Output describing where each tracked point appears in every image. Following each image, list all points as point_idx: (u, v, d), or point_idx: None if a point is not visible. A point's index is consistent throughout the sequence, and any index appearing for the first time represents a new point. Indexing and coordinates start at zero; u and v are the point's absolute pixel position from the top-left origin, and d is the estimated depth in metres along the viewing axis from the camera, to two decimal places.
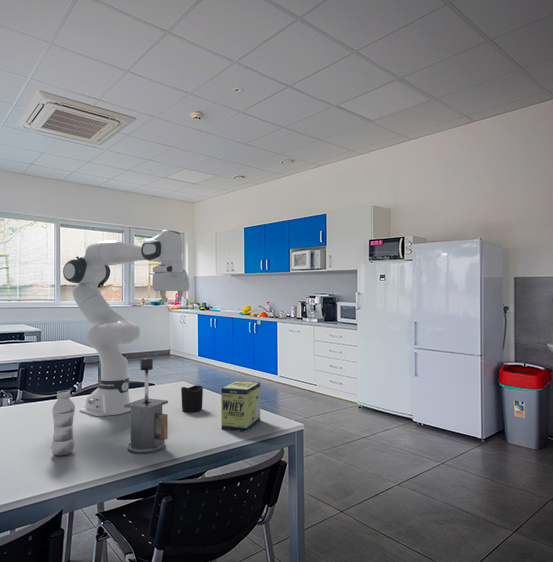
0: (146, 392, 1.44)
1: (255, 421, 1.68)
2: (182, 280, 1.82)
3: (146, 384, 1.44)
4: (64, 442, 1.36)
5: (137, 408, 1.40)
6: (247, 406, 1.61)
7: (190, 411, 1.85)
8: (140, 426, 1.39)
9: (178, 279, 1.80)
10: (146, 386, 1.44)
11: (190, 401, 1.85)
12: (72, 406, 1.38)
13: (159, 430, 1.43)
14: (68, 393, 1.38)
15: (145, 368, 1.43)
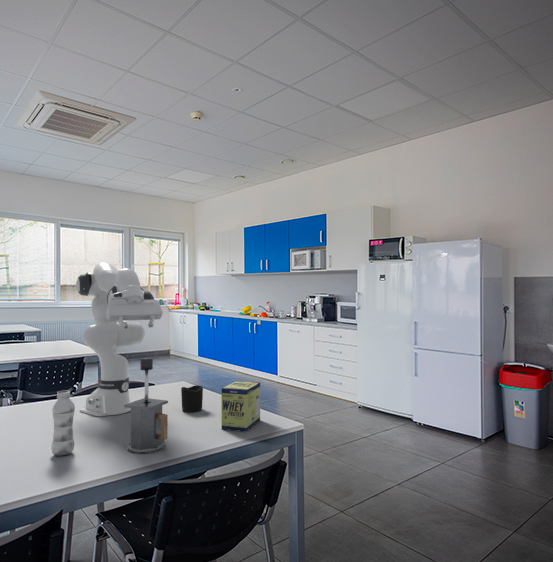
0: (146, 392, 1.44)
1: (255, 421, 1.68)
2: (149, 306, 1.67)
3: (146, 384, 1.44)
4: (64, 442, 1.36)
5: (137, 408, 1.40)
6: (247, 406, 1.61)
7: (190, 411, 1.85)
8: (140, 426, 1.39)
9: (141, 305, 1.65)
10: (146, 386, 1.44)
11: (190, 401, 1.85)
12: (72, 406, 1.38)
13: (159, 430, 1.43)
14: (68, 393, 1.38)
15: (145, 368, 1.43)
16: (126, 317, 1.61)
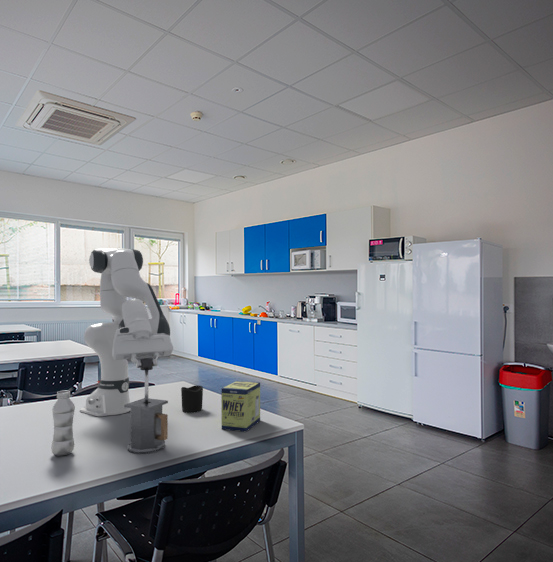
0: (146, 392, 1.44)
1: (255, 421, 1.68)
2: (158, 341, 1.52)
3: (146, 384, 1.44)
4: (64, 442, 1.36)
5: (137, 408, 1.40)
6: (247, 406, 1.61)
7: (190, 411, 1.85)
8: (140, 426, 1.39)
9: (149, 341, 1.51)
10: (146, 386, 1.44)
11: (190, 401, 1.85)
12: (72, 406, 1.38)
13: (159, 430, 1.43)
14: (68, 393, 1.38)
15: (145, 368, 1.43)
16: None
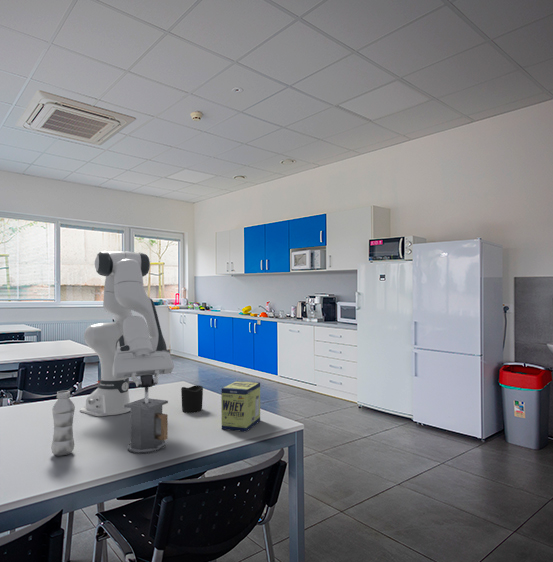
0: None
1: (255, 421, 1.68)
2: (158, 359, 1.51)
3: (146, 401, 1.44)
4: (64, 442, 1.36)
5: (137, 408, 1.40)
6: (247, 406, 1.61)
7: (190, 411, 1.85)
8: (140, 426, 1.39)
9: (150, 358, 1.50)
10: (146, 403, 1.44)
11: (190, 401, 1.85)
12: (72, 406, 1.38)
13: (159, 430, 1.43)
14: (68, 393, 1.38)
15: (145, 385, 1.43)
16: None
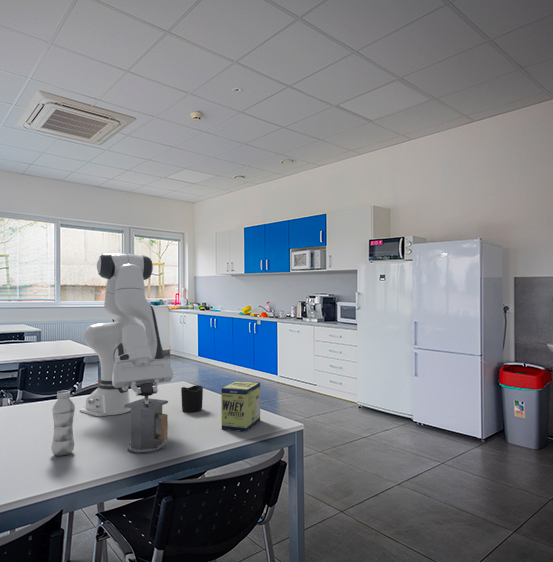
0: None
1: (255, 421, 1.68)
2: (158, 367, 1.52)
3: None
4: (64, 442, 1.36)
5: (137, 408, 1.40)
6: (247, 406, 1.61)
7: (190, 411, 1.85)
8: (140, 426, 1.39)
9: (149, 367, 1.50)
10: None
11: (190, 401, 1.85)
12: (72, 406, 1.38)
13: (159, 430, 1.43)
14: (68, 393, 1.38)
15: (145, 394, 1.43)
16: None
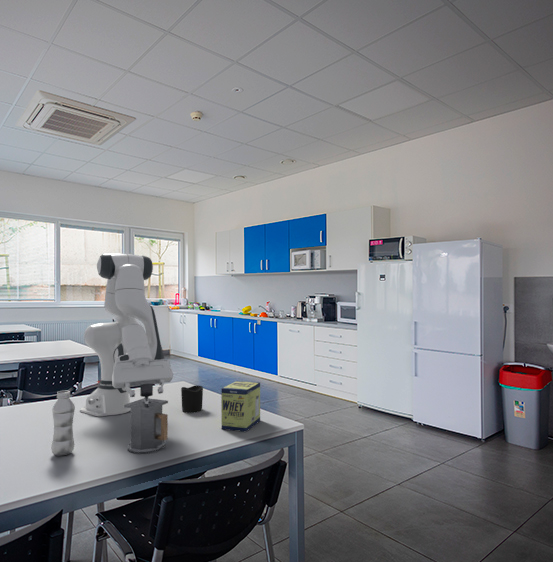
0: None
1: (255, 421, 1.68)
2: (158, 368, 1.52)
3: None
4: (64, 442, 1.36)
5: (137, 408, 1.40)
6: (247, 406, 1.61)
7: (190, 411, 1.85)
8: (140, 426, 1.39)
9: (149, 368, 1.50)
10: None
11: (190, 401, 1.85)
12: (72, 406, 1.38)
13: (159, 430, 1.43)
14: (68, 393, 1.38)
15: (145, 394, 1.43)
16: (133, 383, 1.46)
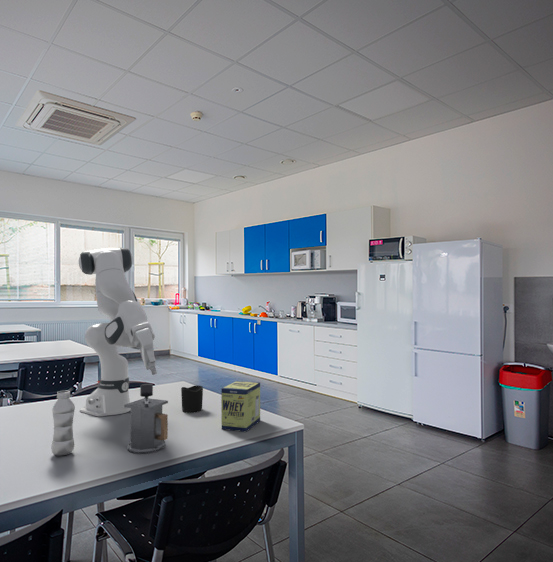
0: None
1: (255, 421, 1.68)
2: None
3: None
4: (64, 442, 1.36)
5: (137, 408, 1.40)
6: (247, 406, 1.61)
7: (190, 411, 1.85)
8: (140, 426, 1.39)
9: None
10: None
11: (190, 401, 1.85)
12: (72, 406, 1.38)
13: (159, 430, 1.43)
14: (68, 393, 1.38)
15: (145, 394, 1.43)
16: None
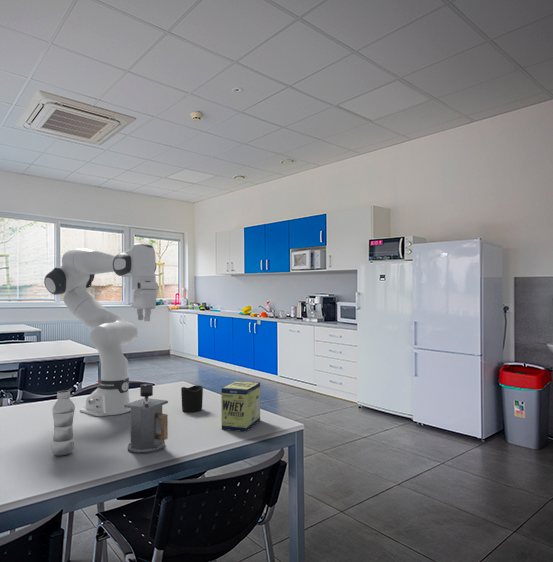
0: None
1: (255, 421, 1.68)
2: None
3: None
4: (64, 442, 1.36)
5: (137, 408, 1.40)
6: (247, 406, 1.61)
7: (190, 411, 1.85)
8: (140, 426, 1.39)
9: None
10: None
11: (190, 401, 1.85)
12: (72, 406, 1.38)
13: (159, 430, 1.43)
14: (68, 393, 1.38)
15: (145, 394, 1.43)
16: None
